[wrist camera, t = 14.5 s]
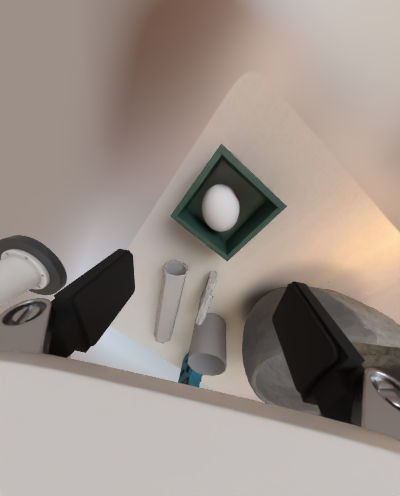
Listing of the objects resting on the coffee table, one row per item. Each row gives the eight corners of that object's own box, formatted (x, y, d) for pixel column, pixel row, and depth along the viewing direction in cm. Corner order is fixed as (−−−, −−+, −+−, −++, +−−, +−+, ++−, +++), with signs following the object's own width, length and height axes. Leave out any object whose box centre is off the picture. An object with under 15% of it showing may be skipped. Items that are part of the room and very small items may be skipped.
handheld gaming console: (194, 344, 47) (183, 412, 33) (206, 349, 47) (199, 419, 34) (182, 358, 51) (167, 424, 38) (192, 363, 51) (182, 430, 38)
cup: (191, 328, 44) (183, 367, 35) (200, 309, 40) (193, 348, 31) (219, 337, 44) (218, 379, 35) (230, 319, 40) (232, 361, 31)
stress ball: (233, 218, 31) (258, 223, 26) (199, 231, 29) (218, 241, 23) (227, 178, 28) (255, 174, 22) (188, 189, 25) (208, 189, 20)
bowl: (384, 289, 30) (512, 380, 17) (308, 353, 41) (348, 439, 28) (269, 247, 30) (306, 307, 17) (223, 323, 41) (222, 396, 28)
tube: (171, 346, 42) (189, 277, 31) (151, 348, 41) (162, 275, 29) (171, 328, 47) (186, 262, 35) (153, 329, 45) (163, 259, 34)
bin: (226, 245, 31) (227, 261, 25) (180, 208, 29) (170, 216, 23) (273, 199, 26) (287, 206, 20) (222, 151, 24) (221, 143, 18)
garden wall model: (210, 269, 34) (208, 286, 29) (218, 271, 34) (217, 289, 29) (198, 306, 39) (193, 326, 34) (204, 308, 39) (201, 328, 34)
